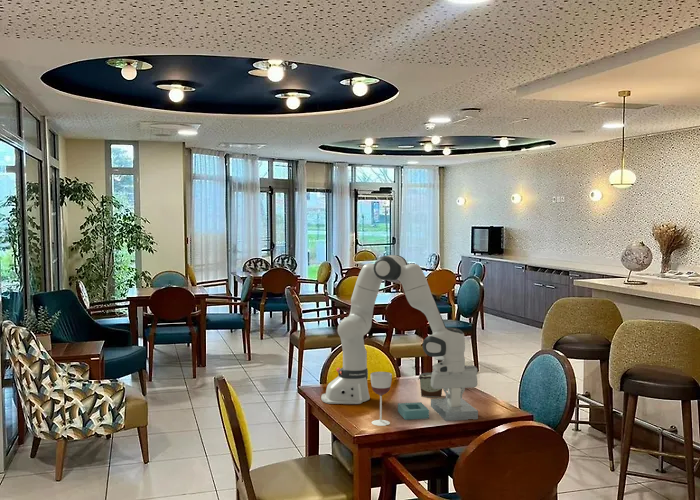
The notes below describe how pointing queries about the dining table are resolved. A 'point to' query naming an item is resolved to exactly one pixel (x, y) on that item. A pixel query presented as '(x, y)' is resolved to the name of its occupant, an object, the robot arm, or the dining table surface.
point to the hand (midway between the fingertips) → (453, 398)
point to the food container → (428, 386)
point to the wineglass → (381, 391)
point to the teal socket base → (413, 410)
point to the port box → (454, 410)
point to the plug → (454, 397)
